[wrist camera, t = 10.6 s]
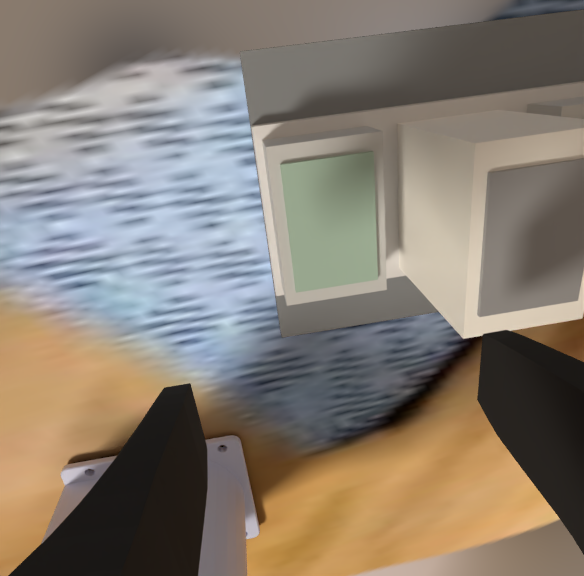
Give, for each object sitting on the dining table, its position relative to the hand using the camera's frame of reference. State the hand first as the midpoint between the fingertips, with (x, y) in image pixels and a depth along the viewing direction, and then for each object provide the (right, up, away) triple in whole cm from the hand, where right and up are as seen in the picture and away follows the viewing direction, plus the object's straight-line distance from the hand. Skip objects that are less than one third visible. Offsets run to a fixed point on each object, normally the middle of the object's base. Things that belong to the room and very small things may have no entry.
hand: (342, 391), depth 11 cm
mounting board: (+5, +7, +9) cm, 12 cm away
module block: (+5, +6, +7) cm, 11 cm away
